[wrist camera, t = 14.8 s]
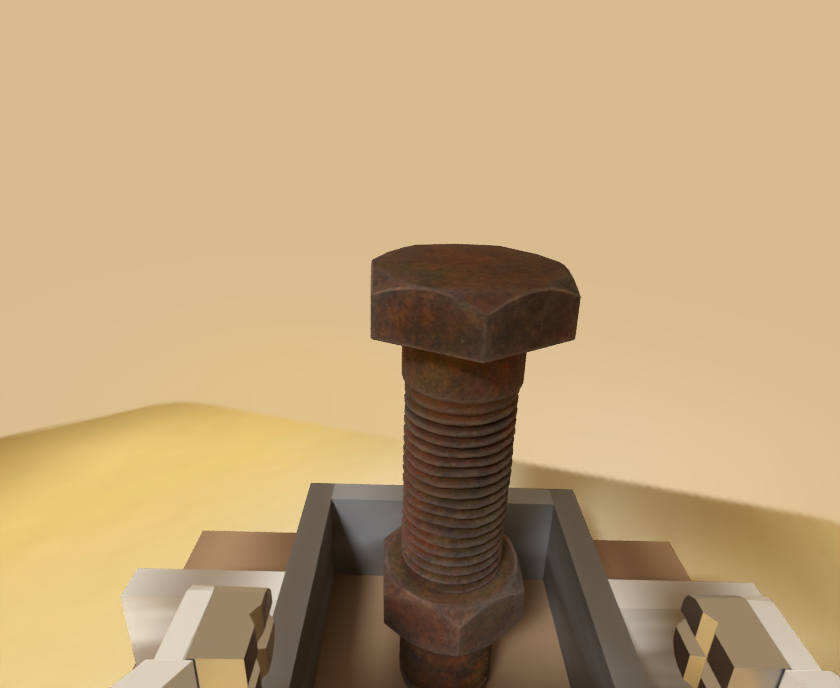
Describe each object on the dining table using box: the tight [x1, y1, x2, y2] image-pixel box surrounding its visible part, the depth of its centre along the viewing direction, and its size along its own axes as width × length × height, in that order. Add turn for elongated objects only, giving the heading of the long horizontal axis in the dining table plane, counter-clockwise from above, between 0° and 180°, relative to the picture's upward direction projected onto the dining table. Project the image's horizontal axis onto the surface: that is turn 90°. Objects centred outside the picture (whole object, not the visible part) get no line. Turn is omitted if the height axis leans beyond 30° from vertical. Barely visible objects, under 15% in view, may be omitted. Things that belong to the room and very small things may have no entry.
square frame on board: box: [120, 483, 762, 688], centre depth 20 cm, size 22×14×6 cm, turn 90°
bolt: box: [371, 244, 581, 688], centre depth 18 cm, size 6×5×15 cm
